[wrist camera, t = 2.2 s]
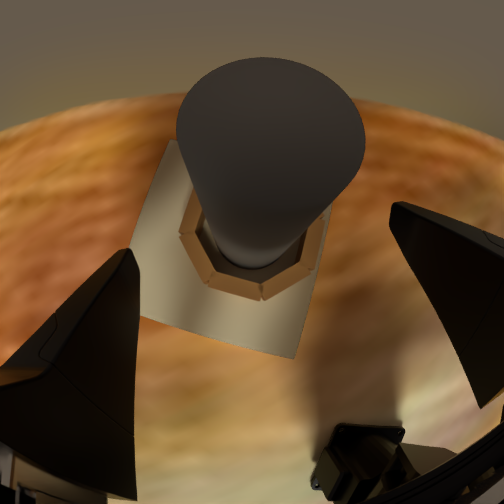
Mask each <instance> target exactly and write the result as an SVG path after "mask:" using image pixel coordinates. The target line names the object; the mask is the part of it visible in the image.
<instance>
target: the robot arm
mask: <svg viewBox="0 0 504 504" xmlns="http://www.w3.org/2000/svg"><path fill="white" fill-rule="evenodd" d="M389 227H390V230H391V232H392V234H393V236H394V237H395V239H396V241H397V243H398V245H399V247H400V249H401V251H402V253H403V255H404V257H405V259H406V261H407V263H408V264H409V266H410V268H411V269H412V271H413V273H414V274H415V276H416V278H417V279H418V281H419V283H420V284H421V286H422V288H423V289H424V291H425V293H426V295H427V296H428V298H429V300H430V302H431V304H432V305H433V307H434V309H435V311H436V313H437V315H438V317H439V319H440V320H441V322H442V324H443V326H444V328H445V330H446V332H447V334H448V336H449V338H450V340H451V342H452V344H453V347H454V349H455V351H456V353H457V355H458V357H459V360H460V362H461V364H462V367H463V369H464V371H465V373H466V376H467V378H468V381H469V383H470V385H471V388H472V390H473V393H474V396H475V398H476V401H477V403H478V406H479V408H480V409H482V408H483V407H485V406H486V405H487V404H489V403H490V402H491V401H493V400H494V399H495V398H497V397H498V396H499V395H501V394H502V393H503V392H504V239H503V238H501V237H498V236H496V235H493V234H491V233H488V232H486V231H484V230H483V231H482V230H481V229H479V228H476V227H474V226H471V225H469V224H466V223H463V222H461V221H458V220H456V219H453V218H450V217H447V216H445V215H442V214H439V213H436V212H434V211H431V210H428V209H425V208H422V207H419V206H416V205H413V204H410V203H407V202H404V201H400V202H394V203H393V204H392V206H391V213H390V219H389ZM139 321H140V269H139V266H138V264H137V261H136V259H135V256H134V254H133V251H132V250H131V249H130V248H126V249H121V250H118V251H117V252H116V253H115V254H114V255H113V256H112V257H110V258H109V259H108V260H107V261H106V262H105V263H104V264H103V265H102V266H101V267H100V268H99V269H97V270H96V271H95V272H94V273H93V274H92V275H91V276H90V277H89V278H88V279H87V280H86V281H85V282H84V283H83V284H82V285H81V286H80V287H79V288H78V289H77V290H76V291H75V292H74V293H73V294H72V295H71V296H70V297H69V298H68V299H67V300H66V301H65V302H64V303H63V304H62V305H61V306H60V307H59V308H58V309H57V310H56V311H55V313H53V314H52V315H51V316H50V317H49V318H48V319H47V320H46V321H45V323H44V324H43V325H42V326H41V327H40V328H39V329H38V330H37V331H36V332H35V333H34V334H33V335H32V336H31V337H30V338H29V339H28V340H27V341H26V342H25V343H24V344H23V345H22V346H21V347H20V348H19V349H18V350H17V351H16V352H15V353H14V354H13V355H12V356H11V357H10V358H9V359H8V360H7V361H6V362H5V363H4V364H3V365H2V366H1V367H0V504H108V498H112V499H119V500H128V501H137V486H136V471H135V444H134V437H133V436H134V398H135V373H136V356H137V343H138V332H139ZM341 428H344V429H343V431H341V432H339V430H340V429H341ZM400 431H401V432H400ZM399 432H400V433H399ZM398 433H399V434H398ZM404 434H405V429H404V428H403V427H398V426H372V425H357V424H346V423H340V424H338V425H337V426H336V427H335V429H334V431H333V434H332V436H331V439H330V441H329V444H328V446H327V447H326V448H324V450H323V453H322V455H321V457H320V459H319V462H318V464H317V466H316V468H315V471H314V474H315V476H314V478H313V480H312V482H311V487H312V489H313V490H322V491H323V493H324V495H325V497H326V499H327V500H328V501H333V503H334V504H504V405H503V409H502V415H501V421H500V424H499V425H497V426H496V427H495V428H494V429H492V430H491V431H490V432H488V433H487V434H486V435H484V436H483V437H482V438H480V439H479V440H478V441H476V442H475V443H473V444H472V445H470V446H469V447H467V448H466V449H465V450H463V451H461V452H460V453H458V454H457V453H454V452H452V451H450V450H448V449H446V448H440V447H430V446H422V445H414V444H407V443H401V441H402V439H403V437H404ZM316 484H319V485H317V486H315V485H316Z"/></svg>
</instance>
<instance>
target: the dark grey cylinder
mask: <svg viewBox="0 0 504 504" xmlns="http://www.w3.org/2000/svg"><path fill="white" fill-rule="evenodd" d="M176 134H177V142H178V145H179V149H180V152H181V155H182V158H183V160H184V163H185V166H186V168H187V171H188V174H189V176H190V179H191V181H192V184H193V187H194V189H195V192H196V194H197V197H198V200H199V202H200V205H201V207H202V210H203V213H204V215H205V218H206V220H207V223H208V225H209V228H210V230H211V233H212V235H213V238H214V240H215V243H216V245H217V248H218V250H219V252H220V253H221V255H222V256H223V257H224V258H225V259H226V260H227V261H228V262H229V263H231V264H232V265H234V266H236V267H239V268H242V269H247V270H257V269H262V268H265V267H267V266H269V265H271V264H273V263H274V262H275V261H276V260H278V259H279V258H280V257H281V256H282V255H283V253H284V252H285V251H286V250H287V249H288V248H289V247H290V246H291V245H292V244H293V243H294V242H295V241H296V240H297V239H298V238H299V237H300V236H301V235H302V234H303V233H304V231H305V230H306V229H307V228H308V227H309V226H310V225H311V224H312V223H313V222H314V221H315V220H316V219H317V218H318V217H319V216H320V215H321V213H322V212H323V211H324V210H325V209H326V208H327V207H328V206H329V205H330V204H331V203H332V202H333V201H334V200H335V198H336V197H337V196H338V195H339V194H340V193H341V192H342V191H343V190H344V189H345V188H346V187H347V186H348V184H349V183H350V182H351V181H352V179H353V178H354V177H355V175H356V174H357V172H358V170H359V168H360V166H361V163H362V160H363V157H364V152H365V131H364V126H363V123H362V119H361V117H360V115H359V112H358V110H357V108H356V107H355V105H354V103H353V102H352V100H351V99H350V98H349V96H348V95H347V94H346V93H345V92H344V91H343V90H342V89H341V88H340V87H339V86H338V85H337V84H336V83H335V82H334V81H332V80H331V79H330V78H328V77H327V76H325V75H324V74H322V73H320V72H319V71H317V70H315V69H313V68H311V67H308V66H306V65H303V64H301V63H297V62H294V61H290V60H285V59H279V58H265V57H260V58H249V59H243V60H238V61H235V62H231V63H228V64H226V65H223V66H221V67H219V68H217V69H215V70H213V71H211V72H210V73H208V74H207V75H205V76H204V77H203V78H201V79H200V80H199V81H198V82H197V83H196V84H195V85H194V86H193V87H192V89H191V90H190V91H189V92H188V94H187V95H186V97H185V99H184V100H183V102H182V105H181V107H180V109H179V113H178V117H177V125H176Z"/></svg>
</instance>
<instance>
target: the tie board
mask: <svg viewBox="0 0 504 504" xmlns="http://www.w3.org/2000/svg"><path fill="white" fill-rule="evenodd" d="M332 203H333V202H332ZM332 203H331V204H330V205H329V206H328V207H327V208H326V209H325V210H324V211H323V212H322V213H321V215H320V216H319V217H318V218H317V219H316V220H315V221H314V222H313V223H312V224H311V225H310V226H309V227H308V228H307V229H306V230H305V231H304V233H303V234H302V235H301V236H300V237H299V238H298V239H297V240H296V241H295V242H294V243H293V244H292V245H291V246H290V247H289V248H288V249H287V250H286V251H285V252H284V253H283V255H282V256H281V257H280V258H279V259H278V260H276V261H275V262H274V263H273V264H271V265H269V266H267V267H265V268H262V269H257V270H247V269H242V268H239V267H236V266H234V265H232V264H231V263H229V262H228V261H227V260H226V259H225V258H224V257H223V256H222V255H221V253H220V252H219V250H218V248H217V245H216V243H215V240H214V238H213V235H212V233H211V230H210V228H209V225H208V223H207V220H206V218H205V215H204V213H203V210H202V207H201V205H200V202H199V200H198V197H197V194H196V192H195V189H194V187H193V184H192V181H191V179H190V176H189V174H188V171H187V168H186V166H185V163H184V160H183V158H182V155H181V152H180V149H179V145H178V142H177V140H173V139H170V141H169V143H168V145H167V148H166V150H165V152H164V155H163V157H162V159H161V162H160V164H159V166H158V169H157V171H156V174H155V176H154V179H153V181H152V184H151V186H150V189H149V191H148V194H147V197H146V199H145V202H144V205H143V207H142V210H141V213H140V216H139V219H138V221H137V224H136V227H135V230H134V233H133V236H132V239H131V242H130V245H129V248H130V249H131V250H132V251H133V254H134V256H135V259H136V261H137V264H138V266H139V269H140V315H141V316H144V317H147V318H150V319H152V320H155V321H158V322H161V323H164V324H167V325H170V326H173V327H176V328H179V329H182V330H186V331H189V332H192V333H195V334H198V335H202V336H205V337H208V338H212V339H215V340H219V341H222V342H226V343H229V344H233V345H237V346H240V347H244V348H248V349H252V350H256V351H260V352H264V353H268V354H272V355H276V356H280V357H285V358H289V359H294V358H295V355H296V351H297V348H298V344H299V341H300V337H301V334H302V330H303V327H304V323H305V319H306V315H307V312H308V308H309V304H310V300H311V296H312V292H313V288H314V284H315V280H316V276H317V272H318V268H319V264H320V259H321V255H322V251H323V246H324V242H325V237H326V232H327V228H328V223H329V218H330V213H331V208H332Z"/></svg>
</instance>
